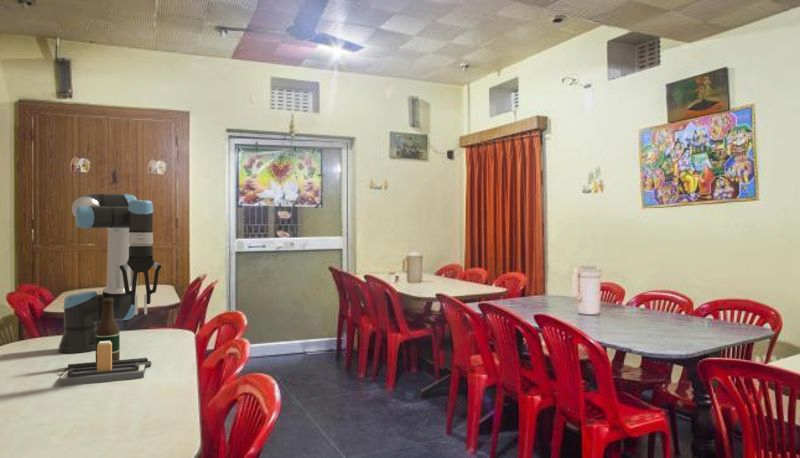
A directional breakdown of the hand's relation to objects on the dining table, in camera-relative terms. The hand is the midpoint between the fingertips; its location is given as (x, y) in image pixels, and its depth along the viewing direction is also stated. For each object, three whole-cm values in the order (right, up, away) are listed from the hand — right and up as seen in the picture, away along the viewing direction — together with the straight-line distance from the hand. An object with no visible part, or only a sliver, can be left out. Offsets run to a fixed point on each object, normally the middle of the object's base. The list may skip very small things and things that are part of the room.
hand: (141, 313), depth 186 cm
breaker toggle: (-10, -18, -4) cm, 21 cm away
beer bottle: (-19, -21, +14) cm, 31 cm away
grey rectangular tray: (-10, -20, -4) cm, 23 cm away
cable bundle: (-14, -20, +5) cm, 25 cm away
